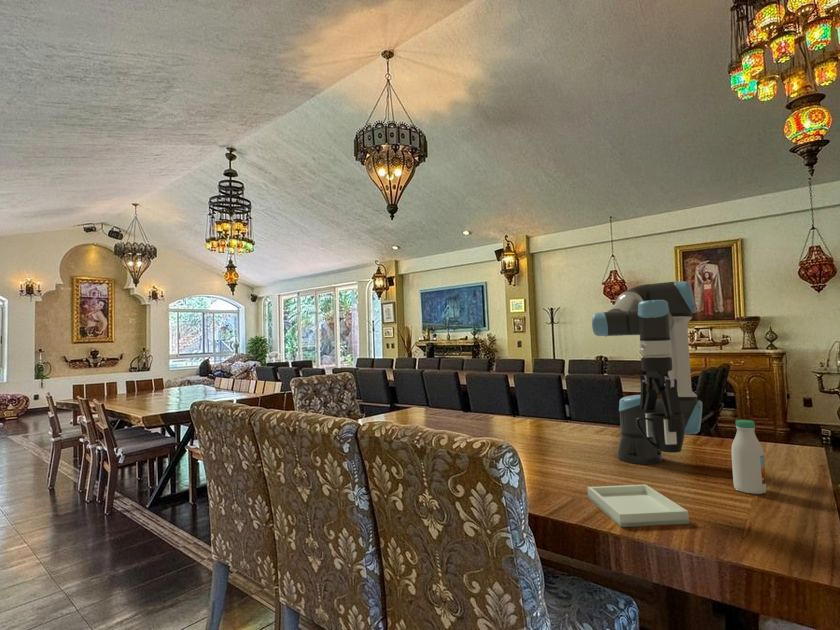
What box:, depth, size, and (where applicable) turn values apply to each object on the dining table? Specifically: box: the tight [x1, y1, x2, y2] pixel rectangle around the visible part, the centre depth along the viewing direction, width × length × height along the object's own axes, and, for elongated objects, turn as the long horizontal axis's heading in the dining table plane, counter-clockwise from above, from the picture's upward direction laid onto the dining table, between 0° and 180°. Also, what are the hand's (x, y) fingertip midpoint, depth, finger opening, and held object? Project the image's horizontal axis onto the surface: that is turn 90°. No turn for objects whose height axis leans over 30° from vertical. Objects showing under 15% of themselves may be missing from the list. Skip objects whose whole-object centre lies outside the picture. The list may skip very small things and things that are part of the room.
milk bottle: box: [730, 419, 767, 495], centre depth 130 cm, size 8×8×20 cm
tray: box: [587, 484, 690, 528], centre depth 119 cm, size 17×20×3 cm
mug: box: [636, 413, 685, 453], centre depth 122 cm, size 8×12×10 cm
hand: (661, 440), depth 121 cm, fingers closed on mug, 8 cm apart
